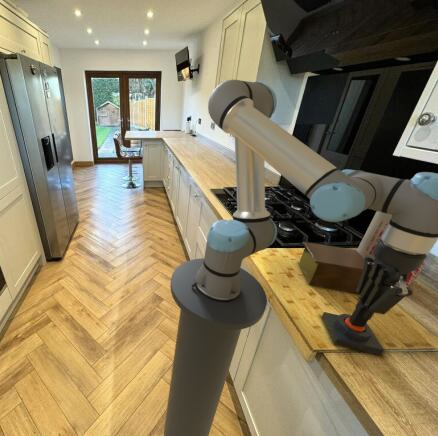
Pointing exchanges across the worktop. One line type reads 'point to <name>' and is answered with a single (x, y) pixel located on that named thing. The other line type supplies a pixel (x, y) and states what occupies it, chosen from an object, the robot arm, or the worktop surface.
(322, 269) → the box
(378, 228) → the thermos bottle
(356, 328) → the button
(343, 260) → the lid
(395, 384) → the worktop surface
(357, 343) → the button base
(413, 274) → the soda can
